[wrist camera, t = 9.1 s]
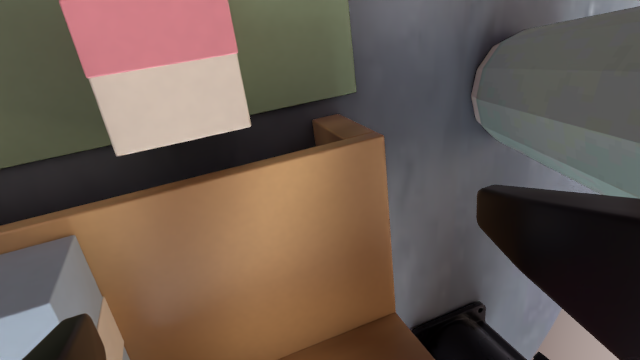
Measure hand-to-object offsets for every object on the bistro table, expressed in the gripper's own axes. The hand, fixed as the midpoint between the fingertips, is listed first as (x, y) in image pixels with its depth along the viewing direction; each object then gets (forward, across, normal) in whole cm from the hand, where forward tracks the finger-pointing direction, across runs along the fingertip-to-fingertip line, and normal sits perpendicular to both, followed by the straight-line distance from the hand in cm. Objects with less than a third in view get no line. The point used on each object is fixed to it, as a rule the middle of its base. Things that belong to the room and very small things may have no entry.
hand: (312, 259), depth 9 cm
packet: (+12, +2, -5) cm, 13 cm away
